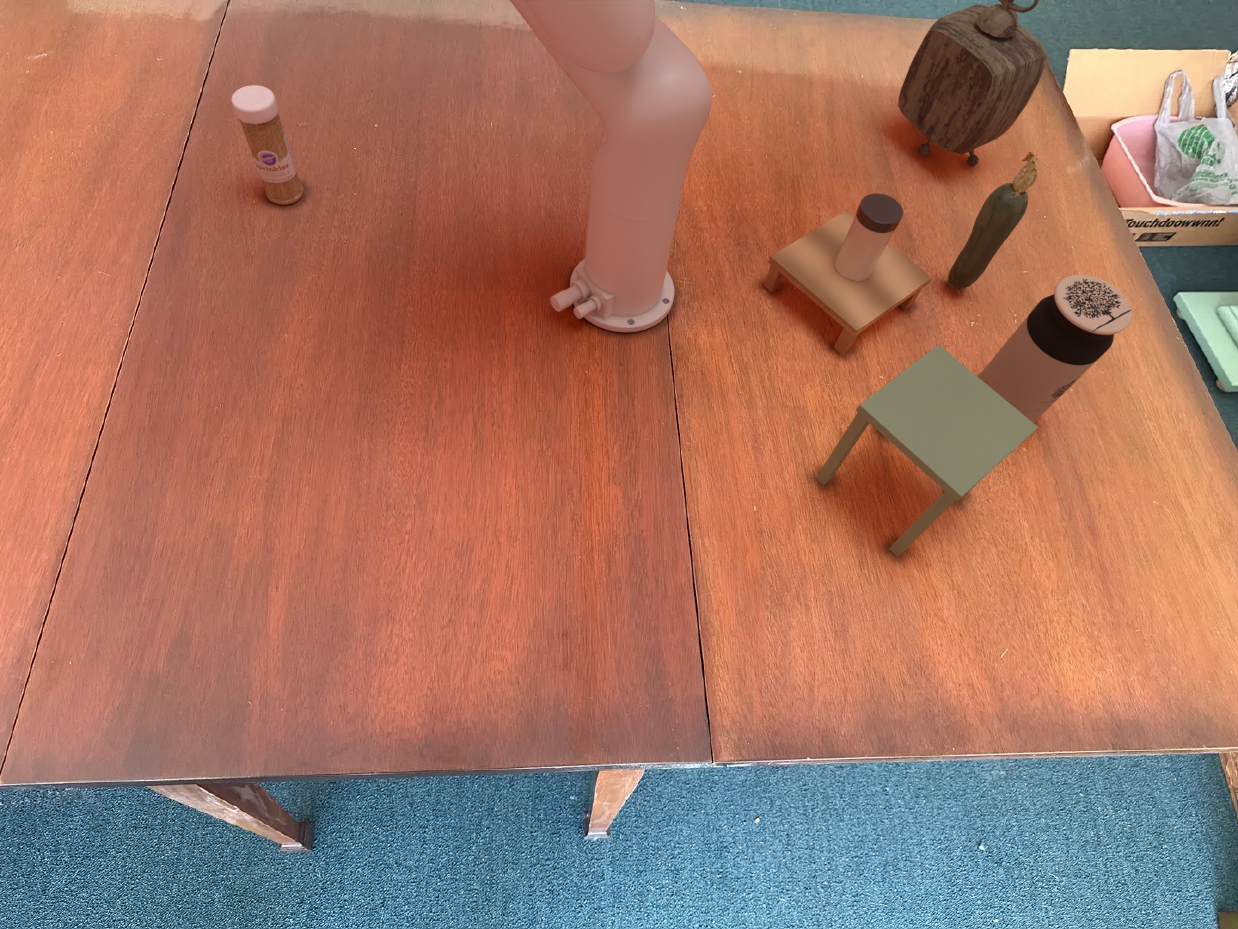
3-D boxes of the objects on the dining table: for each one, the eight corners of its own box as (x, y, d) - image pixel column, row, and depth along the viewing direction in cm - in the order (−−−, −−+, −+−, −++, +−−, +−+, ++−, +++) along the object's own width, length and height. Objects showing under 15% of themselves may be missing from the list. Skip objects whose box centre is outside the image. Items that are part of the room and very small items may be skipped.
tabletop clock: (987, 169, 112) (1094, -7, 91) (945, 190, 109) (1045, 12, 88) (917, 112, 118) (1002, -68, 96) (874, 130, 115) (953, -52, 93)
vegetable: (967, 306, 98) (1058, 177, 81) (933, 299, 98) (1017, 168, 81) (966, 281, 101) (1054, 150, 83) (933, 273, 101) (1015, 141, 83)
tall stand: (897, 560, 80) (961, 496, 67) (812, 478, 83) (859, 404, 71) (966, 497, 84) (1038, 427, 72) (883, 422, 88) (938, 344, 76)
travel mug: (952, 389, 91) (1037, 282, 76) (1004, 371, 93) (1098, 263, 78) (992, 444, 88) (1090, 343, 72) (1046, 424, 90) (1152, 321, 75)
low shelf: (842, 358, 92) (857, 330, 88) (759, 285, 97) (770, 256, 93) (915, 305, 98) (932, 277, 93) (833, 239, 102) (846, 209, 98)
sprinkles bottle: (270, 209, 96) (233, 112, 84) (263, 184, 98) (226, 86, 86) (308, 201, 97) (277, 105, 85) (300, 177, 99) (269, 80, 87)
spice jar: (854, 288, 91) (884, 229, 83) (825, 263, 93) (851, 203, 85) (880, 270, 93) (912, 212, 85) (851, 246, 95) (879, 187, 87)
